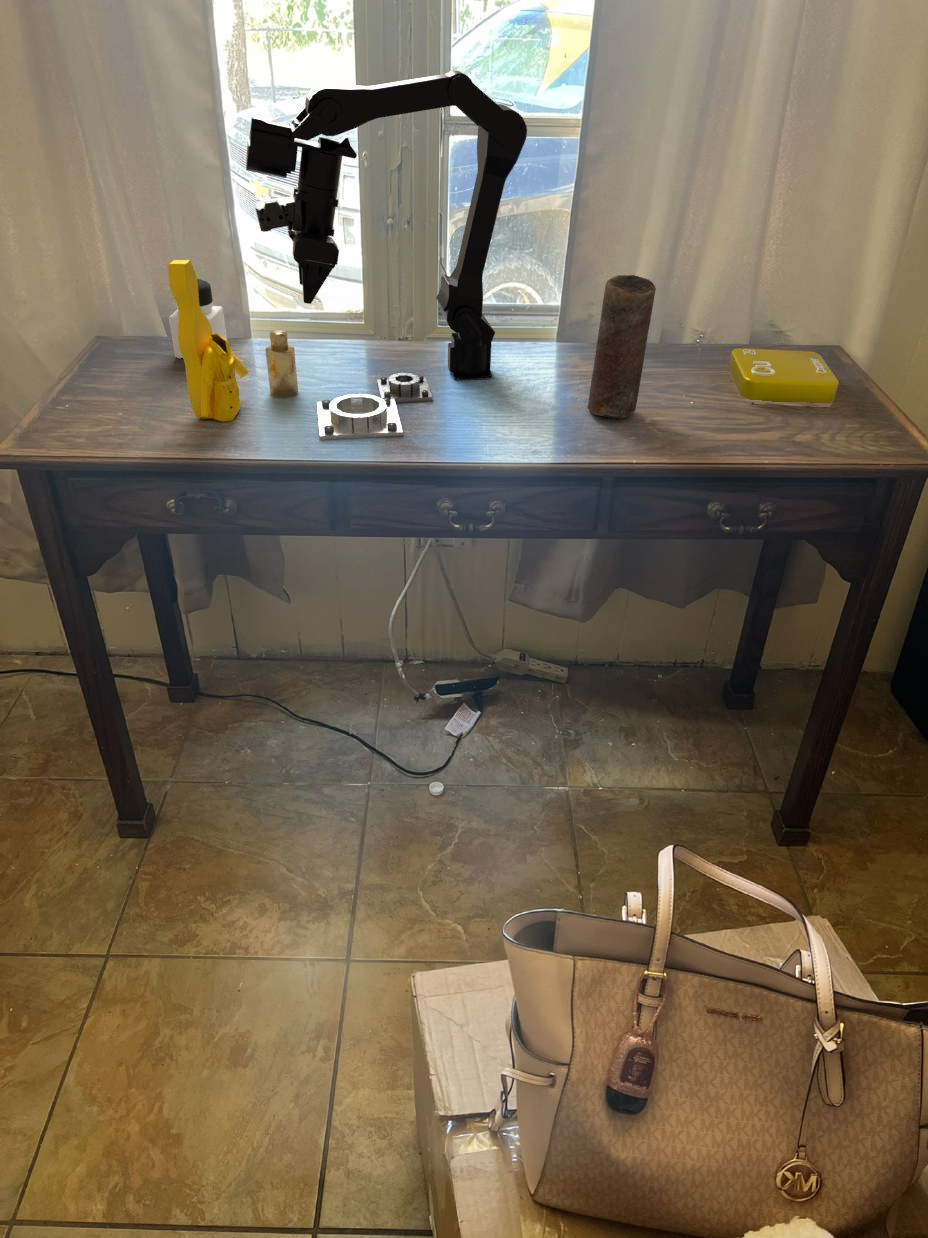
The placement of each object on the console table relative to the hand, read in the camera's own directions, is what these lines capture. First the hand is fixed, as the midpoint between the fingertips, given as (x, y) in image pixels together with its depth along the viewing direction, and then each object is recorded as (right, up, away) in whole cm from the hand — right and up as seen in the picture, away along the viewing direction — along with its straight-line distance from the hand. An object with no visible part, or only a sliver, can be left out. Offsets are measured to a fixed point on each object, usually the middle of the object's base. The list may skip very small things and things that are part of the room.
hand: (305, 293), depth 136 cm
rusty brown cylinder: (+47, -18, +1) cm, 51 cm away
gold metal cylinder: (-4, -14, +5) cm, 15 cm away
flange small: (+15, -14, +6) cm, 21 cm away
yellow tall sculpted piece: (-13, -19, -2) cm, 23 cm away
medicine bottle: (-21, -4, +18) cm, 28 cm away
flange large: (+9, -20, -3) cm, 22 cm away
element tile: (+77, -12, +12) cm, 79 cm away
